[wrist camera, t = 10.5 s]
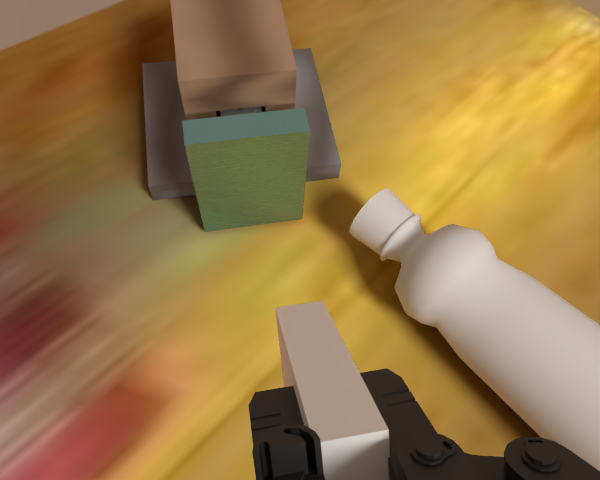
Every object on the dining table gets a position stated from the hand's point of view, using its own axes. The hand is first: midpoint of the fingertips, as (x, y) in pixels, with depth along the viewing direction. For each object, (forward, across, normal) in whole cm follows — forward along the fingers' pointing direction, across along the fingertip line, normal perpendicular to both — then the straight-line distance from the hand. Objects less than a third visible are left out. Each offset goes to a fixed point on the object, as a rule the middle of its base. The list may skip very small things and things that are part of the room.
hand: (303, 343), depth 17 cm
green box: (+33, 0, +3) cm, 34 cm away
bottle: (+17, +18, -14) cm, 28 cm away
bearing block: (+35, 0, +4) cm, 35 cm away
